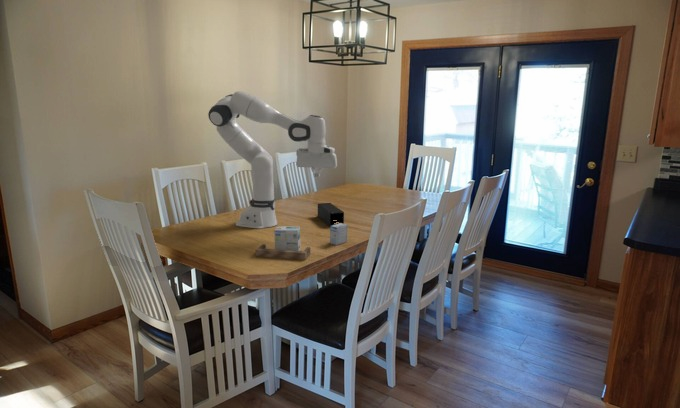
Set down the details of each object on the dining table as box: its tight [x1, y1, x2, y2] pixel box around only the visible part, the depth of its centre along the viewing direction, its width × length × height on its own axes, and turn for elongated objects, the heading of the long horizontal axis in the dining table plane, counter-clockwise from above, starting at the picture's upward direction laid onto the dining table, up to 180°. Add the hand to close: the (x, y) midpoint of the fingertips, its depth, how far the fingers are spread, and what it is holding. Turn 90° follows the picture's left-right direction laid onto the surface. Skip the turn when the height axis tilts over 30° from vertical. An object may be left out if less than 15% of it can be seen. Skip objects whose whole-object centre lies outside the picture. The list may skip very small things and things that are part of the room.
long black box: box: [317, 202, 345, 227], centre depth 249 cm, size 8×8×28 cm
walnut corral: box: [255, 243, 311, 261], centre depth 190 cm, size 22×8×3 cm, turn 79°
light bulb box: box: [274, 225, 301, 251], centre depth 195 cm, size 11×7×11 cm, turn 88°
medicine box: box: [329, 223, 348, 246], centre depth 208 cm, size 8×4×9 cm, turn 141°
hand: (316, 176), depth 219 cm, fingers closed
